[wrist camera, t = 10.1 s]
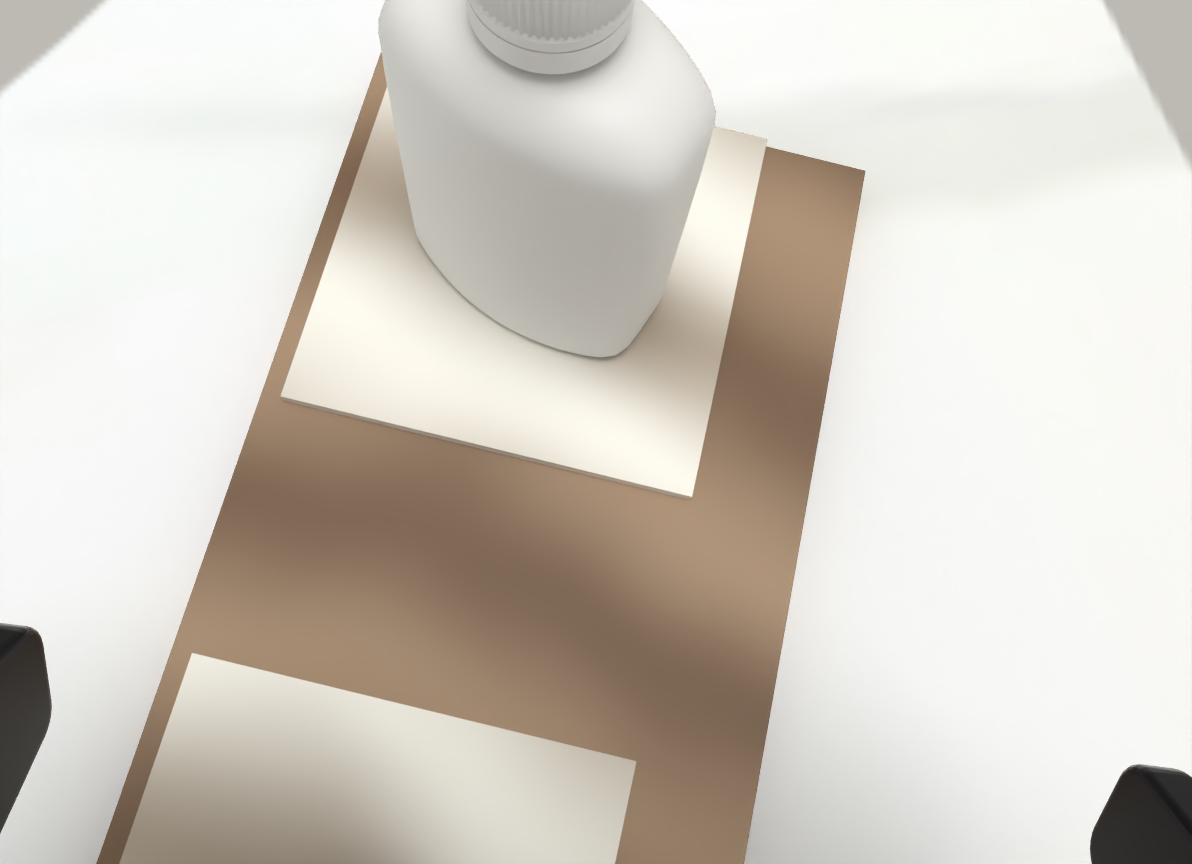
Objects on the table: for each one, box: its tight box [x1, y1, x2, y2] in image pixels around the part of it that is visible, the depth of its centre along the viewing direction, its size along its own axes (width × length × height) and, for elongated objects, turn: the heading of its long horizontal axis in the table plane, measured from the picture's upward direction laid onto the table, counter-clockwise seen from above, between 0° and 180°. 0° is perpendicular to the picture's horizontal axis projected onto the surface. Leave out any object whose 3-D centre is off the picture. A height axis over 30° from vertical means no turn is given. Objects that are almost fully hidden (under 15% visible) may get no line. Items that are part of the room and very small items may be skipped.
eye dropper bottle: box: [379, 0, 716, 357], centre depth 18 cm, size 4×6×12 cm
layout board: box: [97, 52, 865, 864], centre depth 22 cm, size 24×12×1 cm, turn 167°
